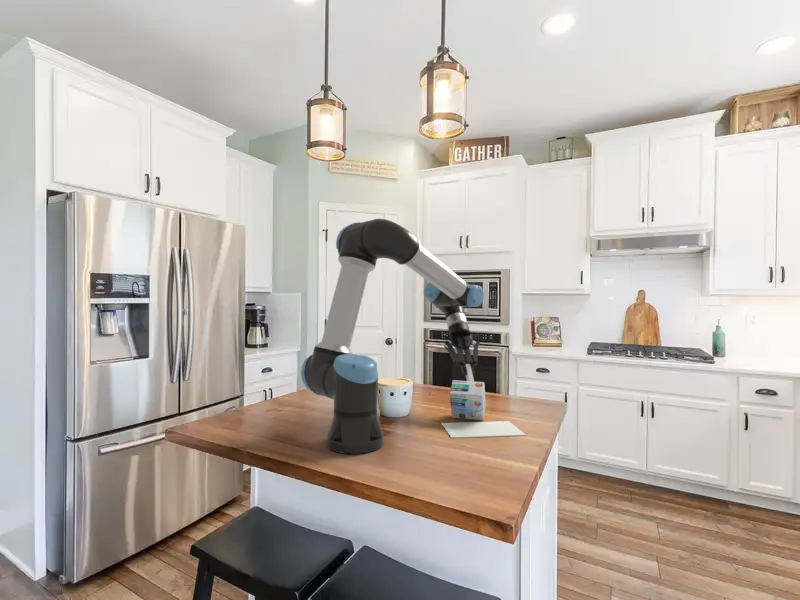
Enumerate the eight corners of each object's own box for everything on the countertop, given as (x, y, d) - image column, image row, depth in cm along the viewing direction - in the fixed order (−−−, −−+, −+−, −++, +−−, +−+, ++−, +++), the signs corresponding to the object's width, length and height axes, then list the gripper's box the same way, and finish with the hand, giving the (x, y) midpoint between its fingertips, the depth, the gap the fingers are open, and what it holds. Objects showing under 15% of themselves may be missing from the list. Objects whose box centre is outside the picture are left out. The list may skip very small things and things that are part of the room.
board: (451, 438, 117) (451, 437, 117) (441, 424, 130) (441, 423, 130) (525, 435, 120) (525, 434, 120) (508, 422, 133) (508, 421, 133)
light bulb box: (451, 418, 137) (448, 393, 131) (454, 403, 142) (451, 379, 137) (484, 421, 133) (482, 396, 128) (486, 406, 139) (484, 381, 134)
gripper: (473, 334, 156) (487, 388, 140) (439, 334, 155) (449, 389, 138) (477, 321, 151) (492, 375, 134) (442, 321, 149) (453, 376, 133)
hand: (470, 382), depth 136 cm, fingers closed
